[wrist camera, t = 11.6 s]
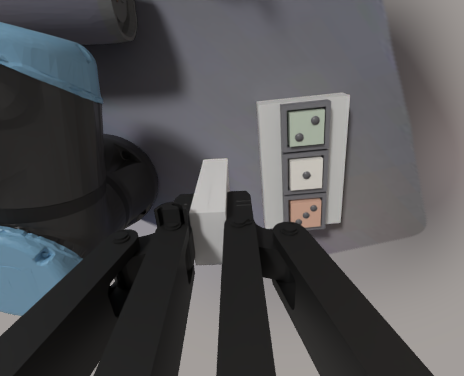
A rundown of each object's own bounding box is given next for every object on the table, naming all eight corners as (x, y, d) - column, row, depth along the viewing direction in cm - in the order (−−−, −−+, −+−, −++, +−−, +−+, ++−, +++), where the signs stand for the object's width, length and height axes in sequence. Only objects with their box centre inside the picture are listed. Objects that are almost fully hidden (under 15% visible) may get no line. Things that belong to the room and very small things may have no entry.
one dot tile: (288, 184, 42) (291, 191, 40) (287, 156, 40) (290, 162, 38) (318, 182, 41) (322, 188, 39) (319, 153, 39) (323, 159, 38)
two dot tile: (287, 142, 39) (290, 147, 37) (287, 110, 37) (289, 113, 35) (319, 139, 39) (323, 143, 37) (320, 107, 37) (325, 109, 35)
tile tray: (263, 219, 48) (266, 234, 44) (256, 101, 39) (258, 106, 35) (334, 213, 47) (344, 228, 43) (341, 92, 39) (354, 96, 35)
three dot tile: (289, 221, 44) (291, 229, 42) (288, 197, 42) (291, 203, 41) (316, 219, 44) (320, 226, 42) (317, 194, 42) (321, 201, 40)
